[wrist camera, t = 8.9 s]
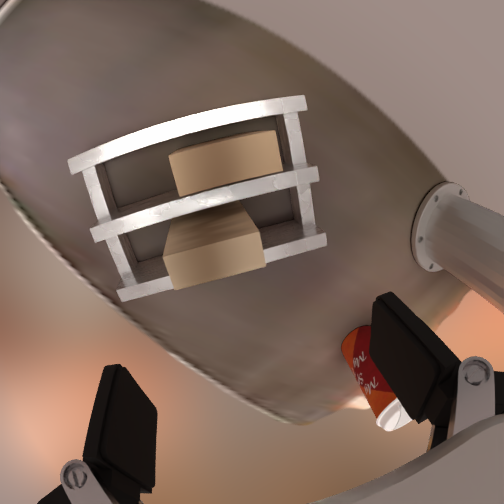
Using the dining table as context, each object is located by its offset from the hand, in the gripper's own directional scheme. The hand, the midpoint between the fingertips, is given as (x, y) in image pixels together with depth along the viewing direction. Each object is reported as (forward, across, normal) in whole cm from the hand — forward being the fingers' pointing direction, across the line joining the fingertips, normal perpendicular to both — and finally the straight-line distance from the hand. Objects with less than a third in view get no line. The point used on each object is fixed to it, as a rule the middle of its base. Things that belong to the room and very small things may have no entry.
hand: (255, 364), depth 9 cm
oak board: (+18, -1, -6) cm, 19 cm away
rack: (+18, +1, -3) cm, 18 cm away
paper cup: (+18, -14, +22) cm, 32 cm away
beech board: (+18, +1, 0) cm, 18 cm away
